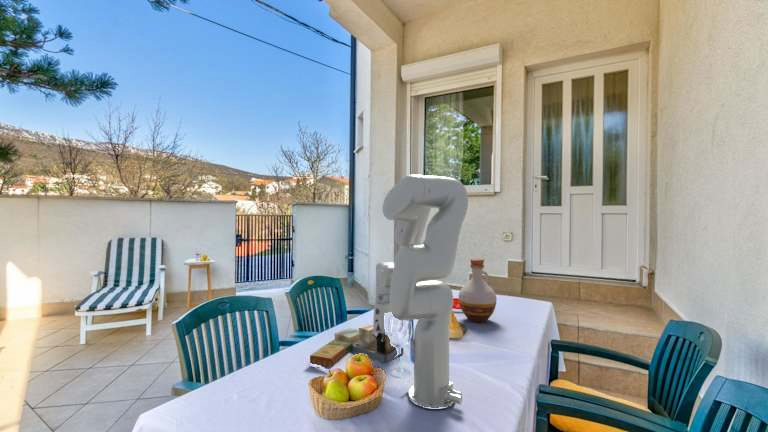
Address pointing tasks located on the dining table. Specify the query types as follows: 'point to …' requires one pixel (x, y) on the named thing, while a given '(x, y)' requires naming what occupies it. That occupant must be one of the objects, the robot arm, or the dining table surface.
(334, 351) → the reddish brown flat block
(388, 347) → the walnut block
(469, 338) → the dining table surface
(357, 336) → the stand
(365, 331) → the beech block
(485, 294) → the jug
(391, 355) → the tray
